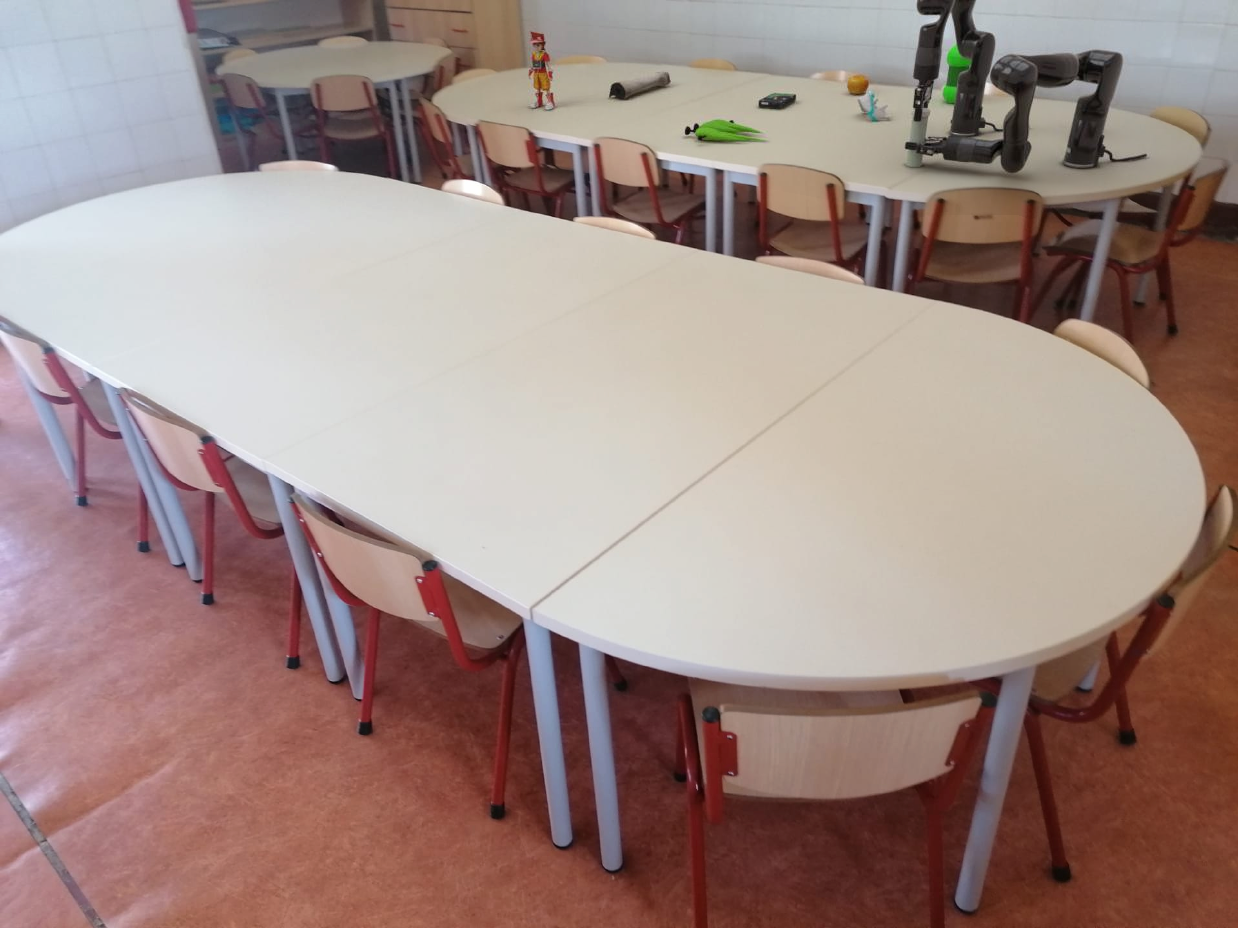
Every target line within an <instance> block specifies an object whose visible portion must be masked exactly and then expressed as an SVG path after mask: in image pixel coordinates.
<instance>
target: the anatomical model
mask: <svg viewBox="0 0 1238 928" xmlns="http://www.w3.org/2000/svg"><path fill="white" fill-rule="evenodd" d="M875 98H876V95H875V93H874V92H872V91H871V90H869V89H867V90H866V93H865V94H864V95H861V96H858V98H857V102H858V104H859V107H860V110H861V112H863V113H867V114H868V116H869V118H870V119H871V121H873V122H876V121H877V122H878V121H879V120H890V119H891V118H892V115H891V114H887V113H885V111H886V109H887V108H888V104H885V105H882V106H877V105H876V104H877V103H878V101H879V98H876V99H875Z"/></svg>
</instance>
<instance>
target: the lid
mask: <svg viewBox="0 0 1238 928" xmlns="http://www.w3.org/2000/svg"><path fill="white" fill-rule="evenodd" d="M914 113H915V109H914V108H912V110H911V116H912V117H913V116H914ZM930 115H931V109H930V108H929V107H928V108H923V111H922V117H927V116H928V117H930Z"/></svg>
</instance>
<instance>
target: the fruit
mask: <svg viewBox="0 0 1238 928" xmlns="http://www.w3.org/2000/svg"><path fill="white" fill-rule="evenodd" d="M869 85H870V83H869V79H868V78H867V77H866V76H864V75H863V74H857V75H852V76H851V77H850V78H849V79H848V81H847V83H846V88H847V90H848V92H849V93H850V94H853V95H861V94H864V93H865V92H867V91H868V89H869Z"/></svg>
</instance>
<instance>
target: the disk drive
mask: <svg viewBox="0 0 1238 928" xmlns="http://www.w3.org/2000/svg"><path fill="white" fill-rule="evenodd" d="M796 100H797V94H796V93H781V92H780V93H779V92H772V93H770V94H769V95H767V96H764V97H763V98H761V99H759V100H758V107H759V108H765V109H766V108H767V109H778V110H779V109H780V110H781V109H784V108H786V107H788V106H789V105H791V104H793V103H794V102H796Z"/></svg>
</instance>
